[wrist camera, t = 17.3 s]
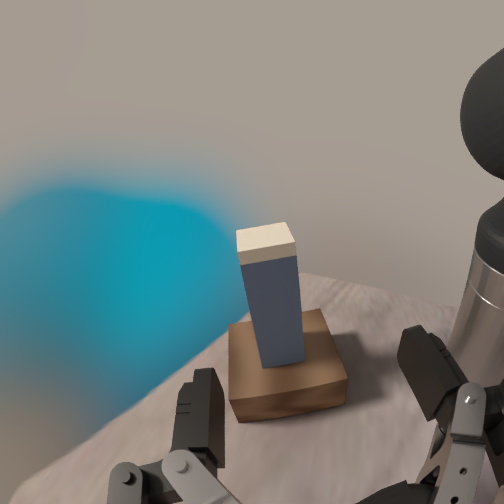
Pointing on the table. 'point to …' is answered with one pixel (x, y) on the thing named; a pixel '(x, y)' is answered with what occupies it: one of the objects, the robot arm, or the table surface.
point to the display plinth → (285, 374)
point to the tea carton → (272, 292)
